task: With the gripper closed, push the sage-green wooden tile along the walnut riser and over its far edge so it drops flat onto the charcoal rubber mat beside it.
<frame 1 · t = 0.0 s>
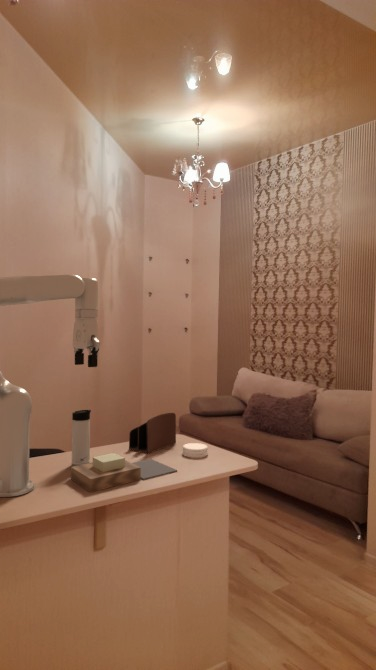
hand: (85, 365, 149), 37 cm above the table, tool pointing down, fingers open, 9 cm apart
mat: (147, 469, 156), on the table
riser: (105, 479, 145), on the table
tile: (108, 462, 146), point 5 cm above the table, touching riser
white short cylinder: (195, 455, 175), on the table
letter holder: (153, 447, 185), on the table
travel mug: (81, 465, 159), on the table
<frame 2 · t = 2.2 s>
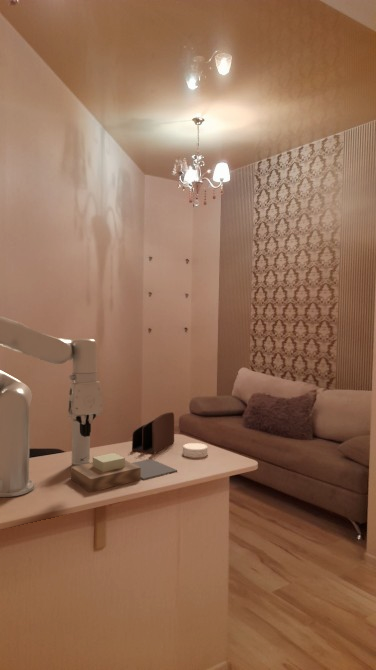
hand: (85, 435, 140), 16 cm above the table, tool pointing down, fingers closed
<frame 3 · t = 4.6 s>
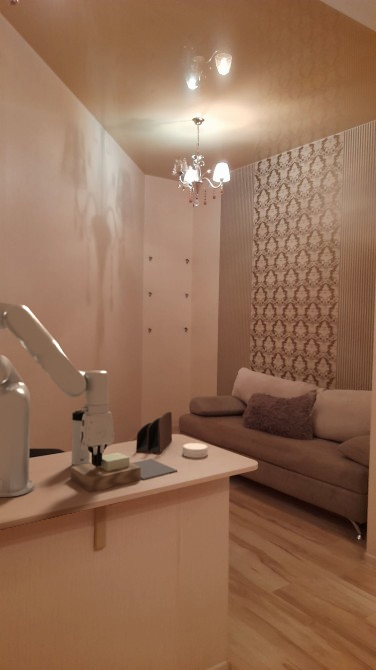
hand: (96, 465, 143), 5 cm above the table, tool pointing down, fingers closed
tile: (113, 461, 147), point 6 cm above the table, touching riser
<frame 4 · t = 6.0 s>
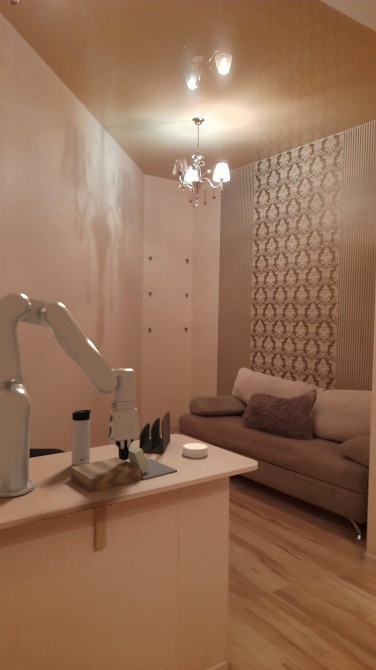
hand: (123, 459, 149), 5 cm above the table, tool pointing down, fingers closed
tile: (137, 459, 152), point 5 cm above the table, tilted 68°, touching mat
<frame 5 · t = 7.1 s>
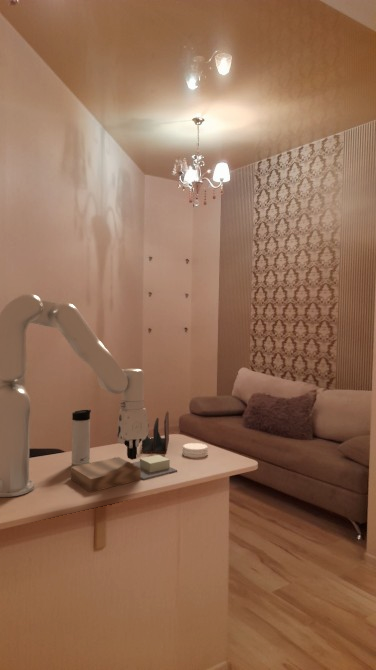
hand: (131, 458, 151), 5 cm above the table, tool pointing down, fingers closed
tile: (154, 463, 156), point 2 cm above the table, tilted 180°, touching mat
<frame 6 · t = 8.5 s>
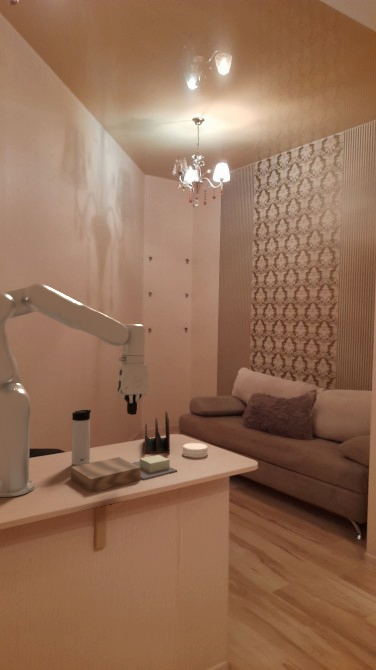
hand: (131, 413, 151), 20 cm above the table, tool pointing down, fingers closed
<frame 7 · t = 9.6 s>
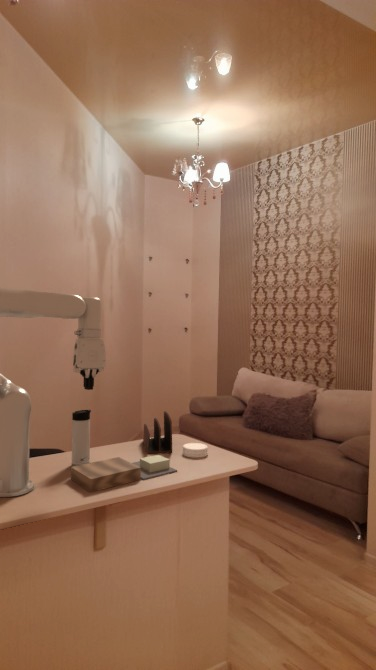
hand: (88, 389, 148), 29 cm above the table, tool pointing down, fingers closed
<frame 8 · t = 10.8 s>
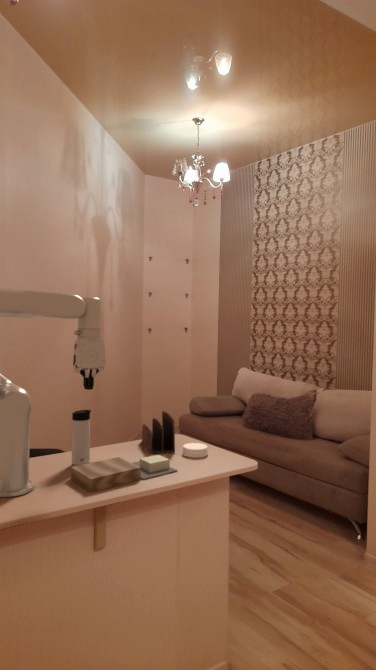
hand: (88, 389, 148), 29 cm above the table, tool pointing down, fingers closed
at the end: tile inside the target area (2.1 cm from its centre), point 2.0 cm above the table; tile touching mat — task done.
